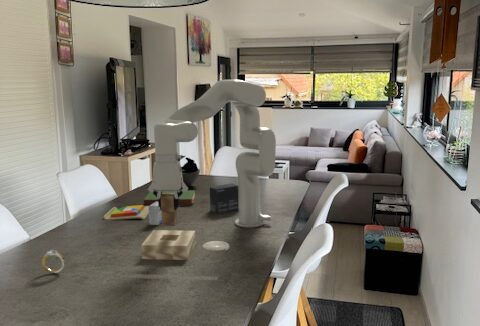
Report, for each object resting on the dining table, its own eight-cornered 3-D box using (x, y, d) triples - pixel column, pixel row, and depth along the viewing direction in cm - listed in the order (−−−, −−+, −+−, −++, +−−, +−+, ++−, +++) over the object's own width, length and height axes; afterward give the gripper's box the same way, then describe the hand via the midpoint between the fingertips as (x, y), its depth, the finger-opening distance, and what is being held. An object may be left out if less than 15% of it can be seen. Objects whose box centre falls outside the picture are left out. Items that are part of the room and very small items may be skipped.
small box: (232, 206, 223) (232, 182, 221) (240, 209, 217) (239, 185, 215) (209, 210, 216) (209, 186, 214) (216, 213, 210) (216, 189, 208)
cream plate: (230, 243, 171) (230, 241, 171) (227, 253, 161) (227, 250, 161) (204, 243, 172) (204, 240, 172) (200, 252, 162) (200, 250, 162)
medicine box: (158, 225, 194) (157, 206, 192) (149, 225, 195) (148, 205, 193) (165, 220, 202) (164, 201, 200) (156, 219, 202) (155, 201, 201)
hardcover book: (144, 207, 225) (143, 199, 225) (150, 197, 244) (150, 190, 243) (193, 206, 225) (193, 199, 225) (196, 196, 244) (196, 190, 243)
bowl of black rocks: (167, 183, 275) (166, 153, 271) (200, 182, 277) (199, 152, 274) (165, 191, 255) (164, 158, 252) (200, 190, 257) (199, 157, 254)
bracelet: (41, 275, 144) (39, 251, 143) (46, 271, 148) (44, 248, 146) (62, 275, 144) (60, 252, 142) (66, 271, 147) (65, 248, 146)
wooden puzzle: (114, 210, 220) (114, 203, 220) (152, 210, 220) (152, 203, 219) (102, 220, 203) (102, 213, 202) (143, 220, 202) (143, 213, 202)
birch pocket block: (195, 245, 169) (195, 230, 168) (187, 262, 153) (187, 246, 152) (154, 245, 170) (153, 230, 169) (142, 261, 155) (141, 245, 153)
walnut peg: (177, 222, 162) (175, 192, 160) (174, 226, 158) (173, 196, 156) (165, 222, 162) (163, 192, 160) (162, 226, 158) (160, 195, 156)
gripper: (192, 156, 159) (194, 205, 162) (145, 156, 160) (148, 205, 163) (188, 160, 151) (190, 212, 155) (139, 160, 153) (142, 211, 156)
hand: (168, 208), depth 159 cm, fingers closed on walnut peg, 4 cm apart
